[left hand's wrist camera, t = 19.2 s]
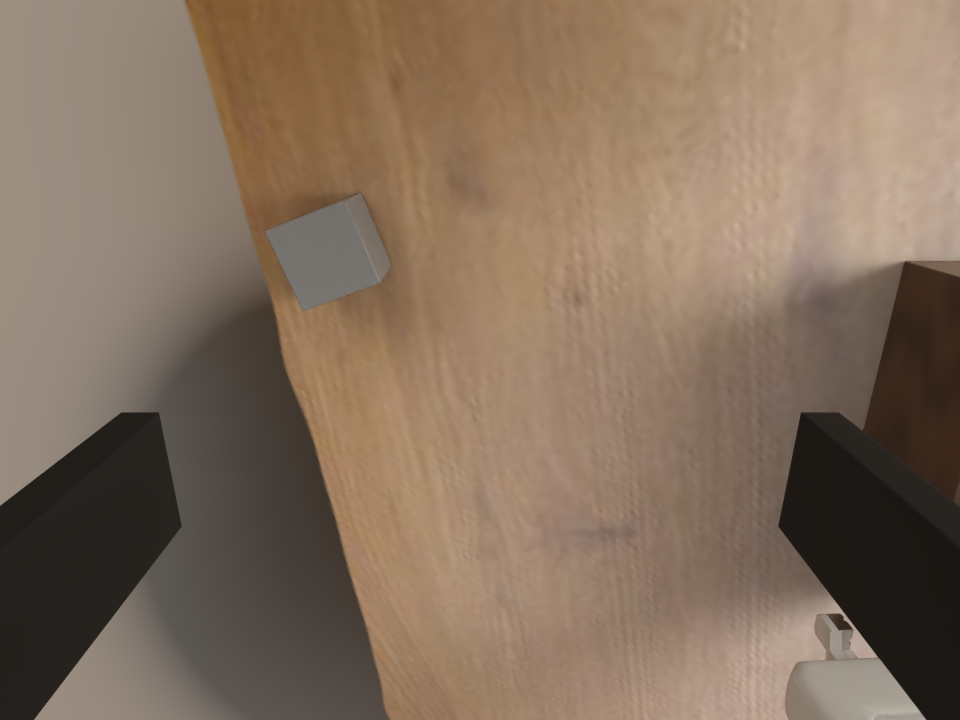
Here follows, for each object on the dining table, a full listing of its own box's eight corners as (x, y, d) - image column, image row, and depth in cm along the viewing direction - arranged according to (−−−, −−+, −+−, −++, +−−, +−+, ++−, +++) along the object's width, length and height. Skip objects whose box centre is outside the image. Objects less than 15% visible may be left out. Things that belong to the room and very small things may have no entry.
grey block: (289, 219, 39) (264, 231, 34) (361, 192, 39) (344, 200, 34) (323, 291, 41) (302, 311, 36) (392, 265, 40) (380, 283, 35)
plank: (904, 260, 40) (1018, 294, 32) (972, 261, 40) (1104, 294, 32) (825, 582, 49) (897, 675, 41) (881, 582, 49) (965, 675, 41)
